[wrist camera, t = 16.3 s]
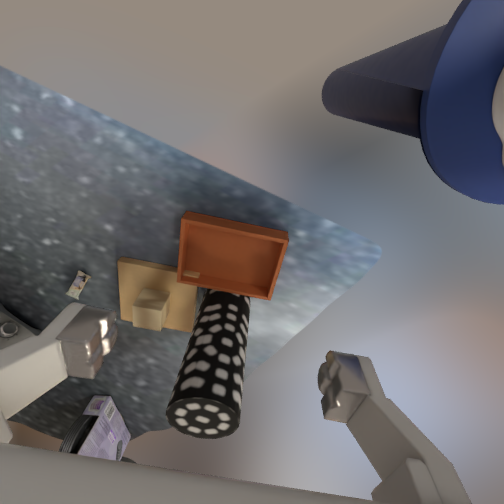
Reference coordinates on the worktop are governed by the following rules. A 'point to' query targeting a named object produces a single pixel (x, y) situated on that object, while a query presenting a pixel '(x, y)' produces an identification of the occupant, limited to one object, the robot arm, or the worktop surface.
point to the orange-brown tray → (230, 255)
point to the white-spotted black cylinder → (212, 369)
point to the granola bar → (78, 284)
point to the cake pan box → (98, 431)
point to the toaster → (13, 329)
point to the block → (151, 309)
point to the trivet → (162, 279)
